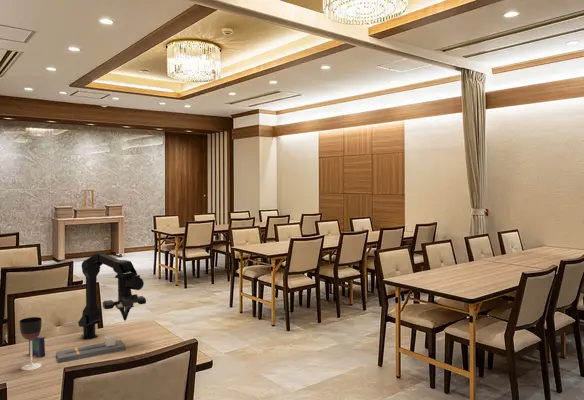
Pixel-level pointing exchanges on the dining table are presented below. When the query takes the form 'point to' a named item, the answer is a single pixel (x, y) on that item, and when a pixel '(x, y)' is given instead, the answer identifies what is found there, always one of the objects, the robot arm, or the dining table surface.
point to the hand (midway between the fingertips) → (124, 320)
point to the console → (88, 351)
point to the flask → (38, 346)
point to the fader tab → (109, 340)
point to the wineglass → (30, 336)
